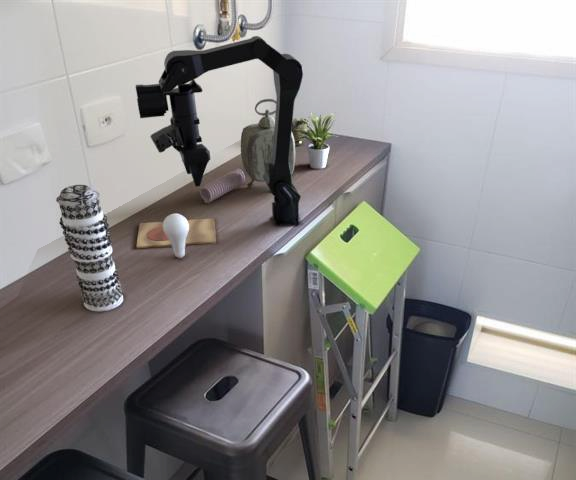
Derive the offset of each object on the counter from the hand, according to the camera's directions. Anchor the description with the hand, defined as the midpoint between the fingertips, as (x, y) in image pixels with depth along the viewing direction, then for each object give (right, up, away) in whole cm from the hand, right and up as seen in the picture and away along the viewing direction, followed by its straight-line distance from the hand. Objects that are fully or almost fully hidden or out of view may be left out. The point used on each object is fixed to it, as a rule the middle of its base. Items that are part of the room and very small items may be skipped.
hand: (193, 179), depth 147 cm
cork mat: (-5, -12, +7) cm, 15 cm away
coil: (+5, +6, +28) cm, 29 cm away
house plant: (+34, +21, +46) cm, 60 cm away
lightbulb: (-3, -20, -3) cm, 21 cm away
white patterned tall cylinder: (-17, -33, -18) cm, 41 cm away
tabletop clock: (+18, +8, +30) cm, 36 cm away
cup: (+27, +34, +61) cm, 75 cm away
